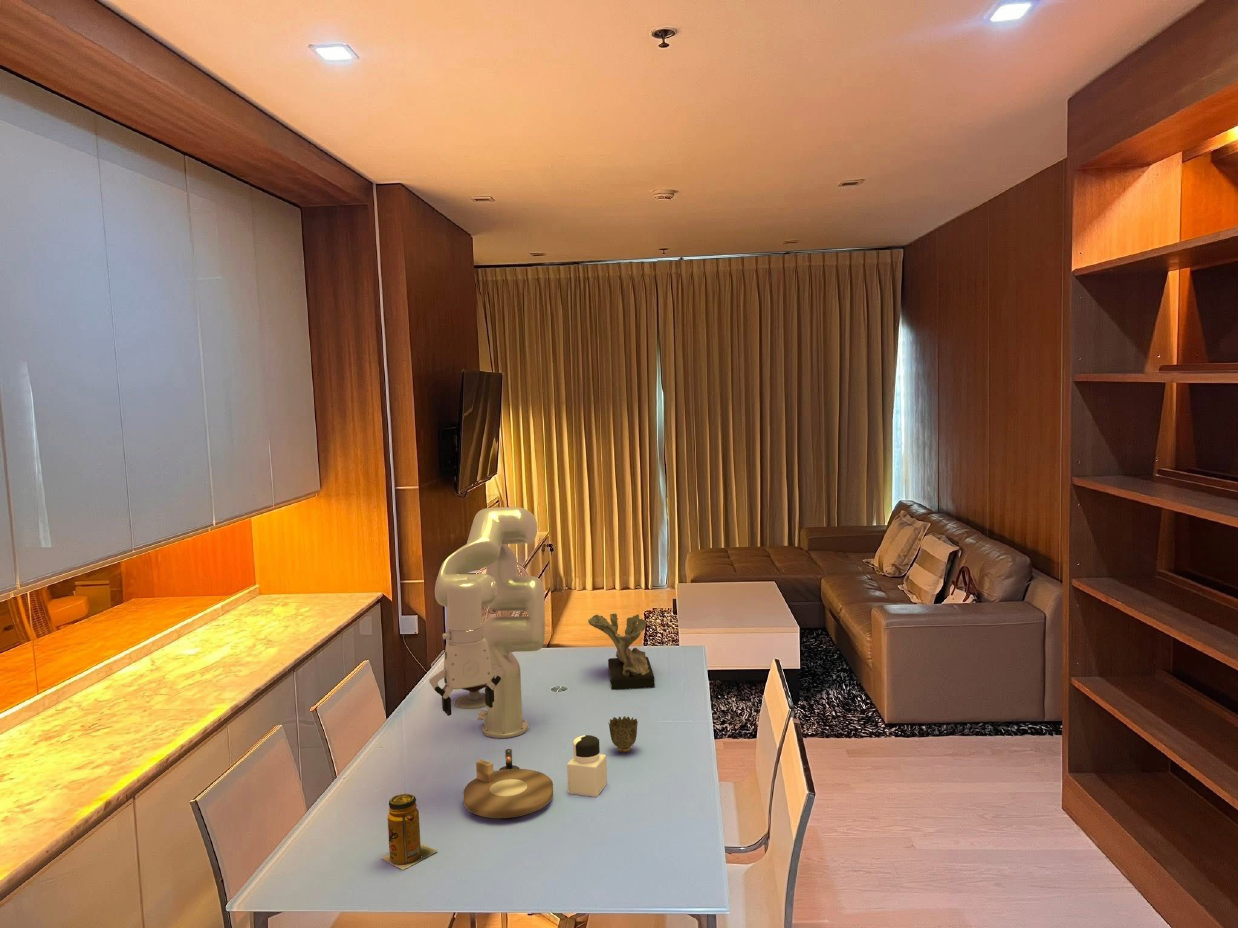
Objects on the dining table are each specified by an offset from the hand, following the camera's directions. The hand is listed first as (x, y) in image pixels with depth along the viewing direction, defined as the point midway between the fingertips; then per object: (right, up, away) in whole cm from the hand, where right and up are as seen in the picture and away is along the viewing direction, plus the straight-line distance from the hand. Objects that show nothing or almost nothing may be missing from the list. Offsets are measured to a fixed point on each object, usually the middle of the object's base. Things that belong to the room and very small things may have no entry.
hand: (468, 709), depth 190 cm
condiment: (-8, -23, -23) cm, 33 cm away
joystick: (+8, -19, +13) cm, 24 cm away
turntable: (+9, -19, -2) cm, 21 cm away
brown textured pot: (+35, -18, +24) cm, 47 cm away
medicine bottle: (+27, -20, +4) cm, 34 cm away
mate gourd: (-10, -17, +64) cm, 67 cm away
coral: (+35, -14, +81) cm, 89 cm away
